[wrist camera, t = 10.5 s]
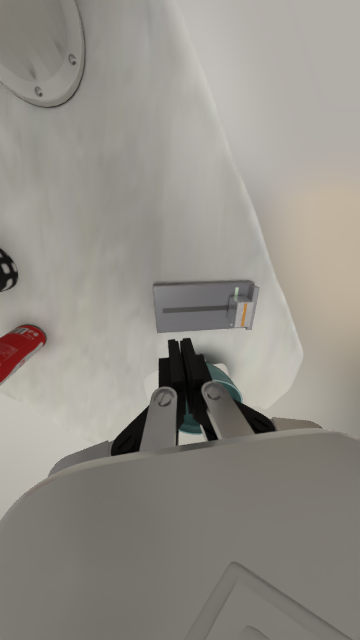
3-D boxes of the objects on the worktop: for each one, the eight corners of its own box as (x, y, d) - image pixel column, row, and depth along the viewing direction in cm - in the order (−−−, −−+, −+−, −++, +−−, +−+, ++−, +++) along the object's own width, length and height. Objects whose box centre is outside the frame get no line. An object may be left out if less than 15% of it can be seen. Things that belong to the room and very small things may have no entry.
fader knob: (229, 296, 33) (238, 302, 29) (243, 295, 33) (254, 302, 29) (226, 319, 35) (234, 327, 31) (240, 318, 35) (249, 326, 31)
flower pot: (157, 356, 40) (155, 393, 30) (221, 340, 40) (240, 371, 30) (173, 400, 47) (176, 441, 37) (227, 386, 47) (245, 424, 37)
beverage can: (9, 329, 33) (-95, 387, 20) (37, 318, 33) (-49, 370, 19) (30, 351, 36) (-50, 416, 22) (56, 341, 36) (-9, 401, 22)
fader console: (153, 284, 32) (152, 289, 29) (249, 280, 34) (260, 284, 30) (157, 328, 37) (156, 337, 33) (242, 323, 38) (251, 331, 35)
